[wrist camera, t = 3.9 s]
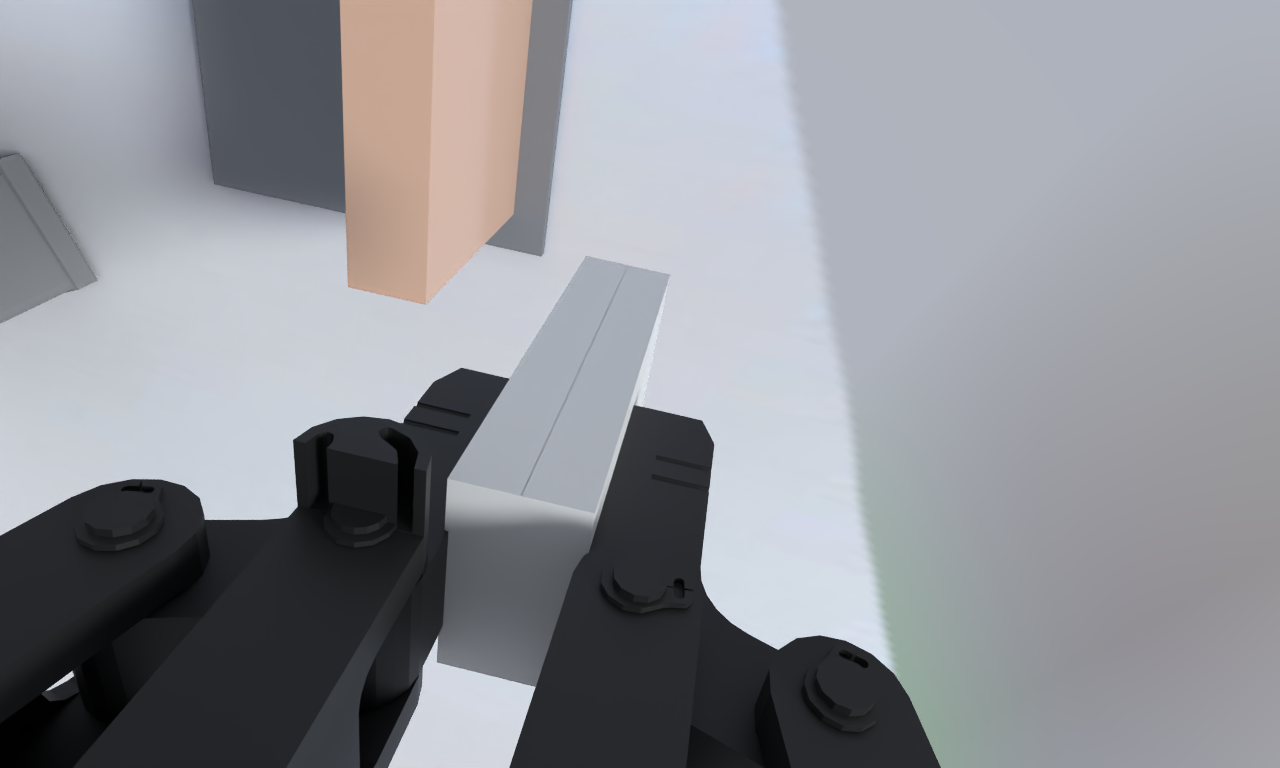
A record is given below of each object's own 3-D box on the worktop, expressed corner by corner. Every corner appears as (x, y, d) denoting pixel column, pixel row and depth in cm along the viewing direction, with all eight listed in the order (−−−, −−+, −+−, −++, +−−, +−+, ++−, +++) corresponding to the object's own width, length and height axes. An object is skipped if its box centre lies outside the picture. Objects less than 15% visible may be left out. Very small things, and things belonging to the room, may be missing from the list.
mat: (220, 181, 32) (213, 183, 31) (180, -166, 26) (172, -168, 25) (543, 252, 31) (541, 256, 31) (582, -85, 25) (579, -85, 25)
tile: (452, 201, 30) (344, 286, 22) (464, -56, 26) (334, -60, 18) (513, 214, 30) (425, 304, 22) (536, -41, 26) (436, -39, 18)
